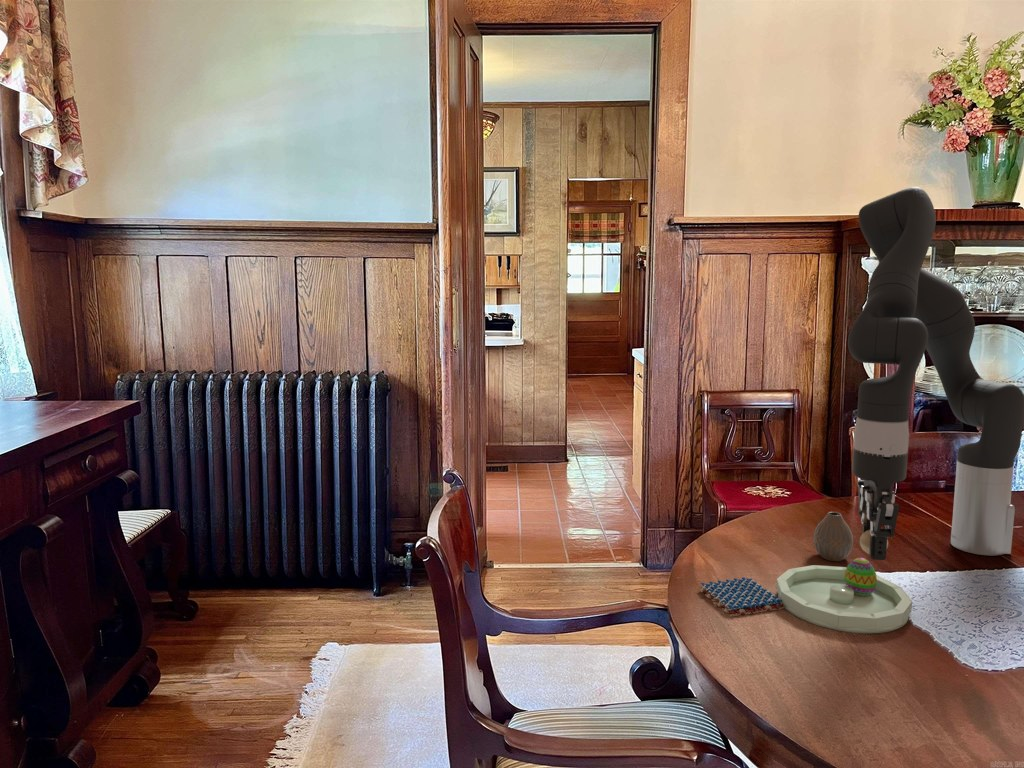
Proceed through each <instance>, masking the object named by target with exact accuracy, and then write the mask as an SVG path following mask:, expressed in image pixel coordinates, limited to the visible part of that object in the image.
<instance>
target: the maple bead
mask: <svg viewBox="0 0 1024 768" xmlns="http://www.w3.org/2000/svg"><path fill="white" fill-rule="evenodd" d="M870 531H871V530H867V531H865V532H864V533H863V534H861V535H860V537H859V545H860V547H861V549H862V551H863V552H865V554H868V555H869V551H870V536H871V534H870ZM888 547H889V540H888V538H887V549H888ZM887 549H886V551H887Z"/></svg>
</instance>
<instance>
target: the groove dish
mask: <svg viewBox="0 0 1024 768" xmlns="http://www.w3.org/2000/svg"><path fill="white" fill-rule="evenodd" d="M846 568H847V567H846V566H832V565H831V566H830V565H815V564H814V565H813V564H812V565H806V566H801V567H799V566H798V567H793V568H789V569H787V570H785V572H783V573H782V574H781V575H780V576H779V577H777V578H776V592H777V597H778V598H779V599H781V600H782V605H783V607H784V608H783V609H785V611H788V613H790V614H791V615H793V616H795V617H796V618H799V619H801V620H803V621H804V622H808V623H810V624H811V625H815V626H818V627H822V628H825V629H828V630H829V629H830V630H834V631H840V632H844V633H853V634H882V633H889V632H893V631H896V630H898V629H901V628H902V627H904V626H905V625H906V624H907V623H908V622H909V621H908V620H909V616H910V615H911V613H912V610H913V600H912V599H911V598H910V595H908V593H907V591H905V589H904V588H903V587H902V586H900V585H898V584H897V583H894V582H891V580H888V579H887V578H885V577H881V576H880V575H878V574H876V577H877V584H876V588H875V590H874V591H873V592H872V593H871V594H870V595H868V596H858V595H855V594H854V590H853V589H852V588H850V587H847V586H846V585H845V580H844V576H845V571H846ZM780 604H781V602H780Z"/></svg>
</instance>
